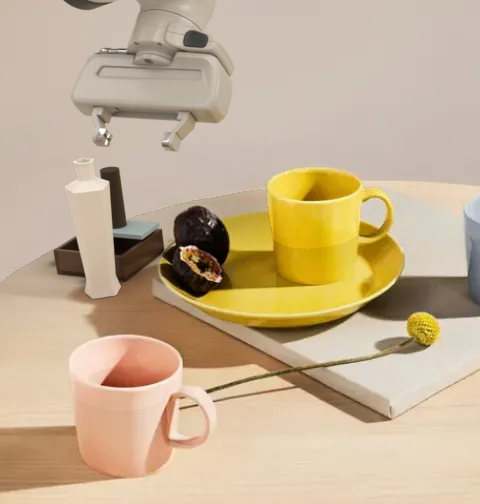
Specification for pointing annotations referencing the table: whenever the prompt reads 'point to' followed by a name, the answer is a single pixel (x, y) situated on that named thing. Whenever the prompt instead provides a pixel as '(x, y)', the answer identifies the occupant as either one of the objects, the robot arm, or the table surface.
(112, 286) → the white faceted vase
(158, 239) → the dark brown square tray
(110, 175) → the dark cylinder on slab
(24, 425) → the table surface
